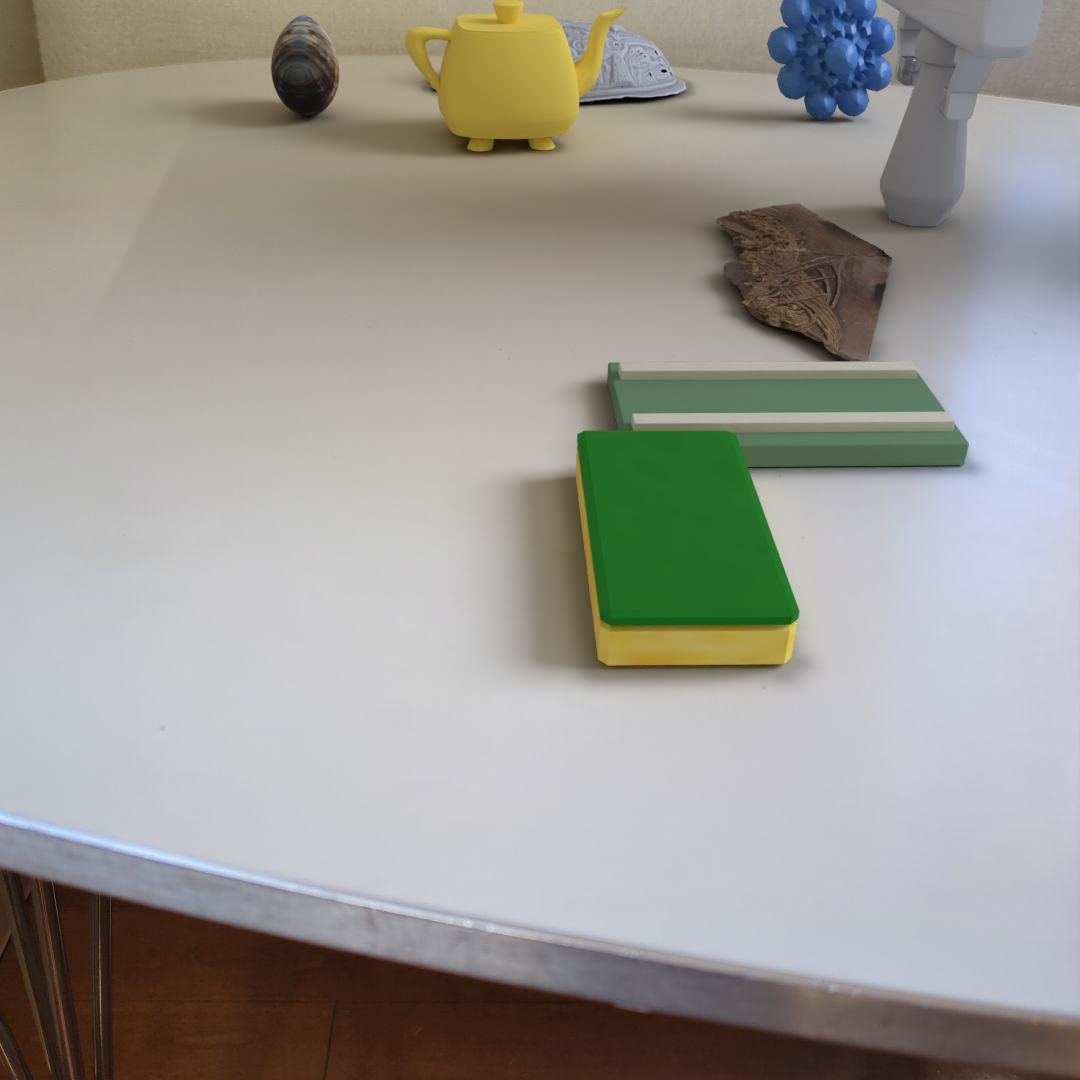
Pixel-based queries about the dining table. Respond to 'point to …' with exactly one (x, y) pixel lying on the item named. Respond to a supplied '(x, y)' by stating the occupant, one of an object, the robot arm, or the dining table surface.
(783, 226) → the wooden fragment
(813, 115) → the blue knobbly round piece
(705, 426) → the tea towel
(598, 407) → the dining table surface
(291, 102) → the seashell
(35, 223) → the dining table surface
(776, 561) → the dish sponge
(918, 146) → the salt shaker
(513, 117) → the teapot
